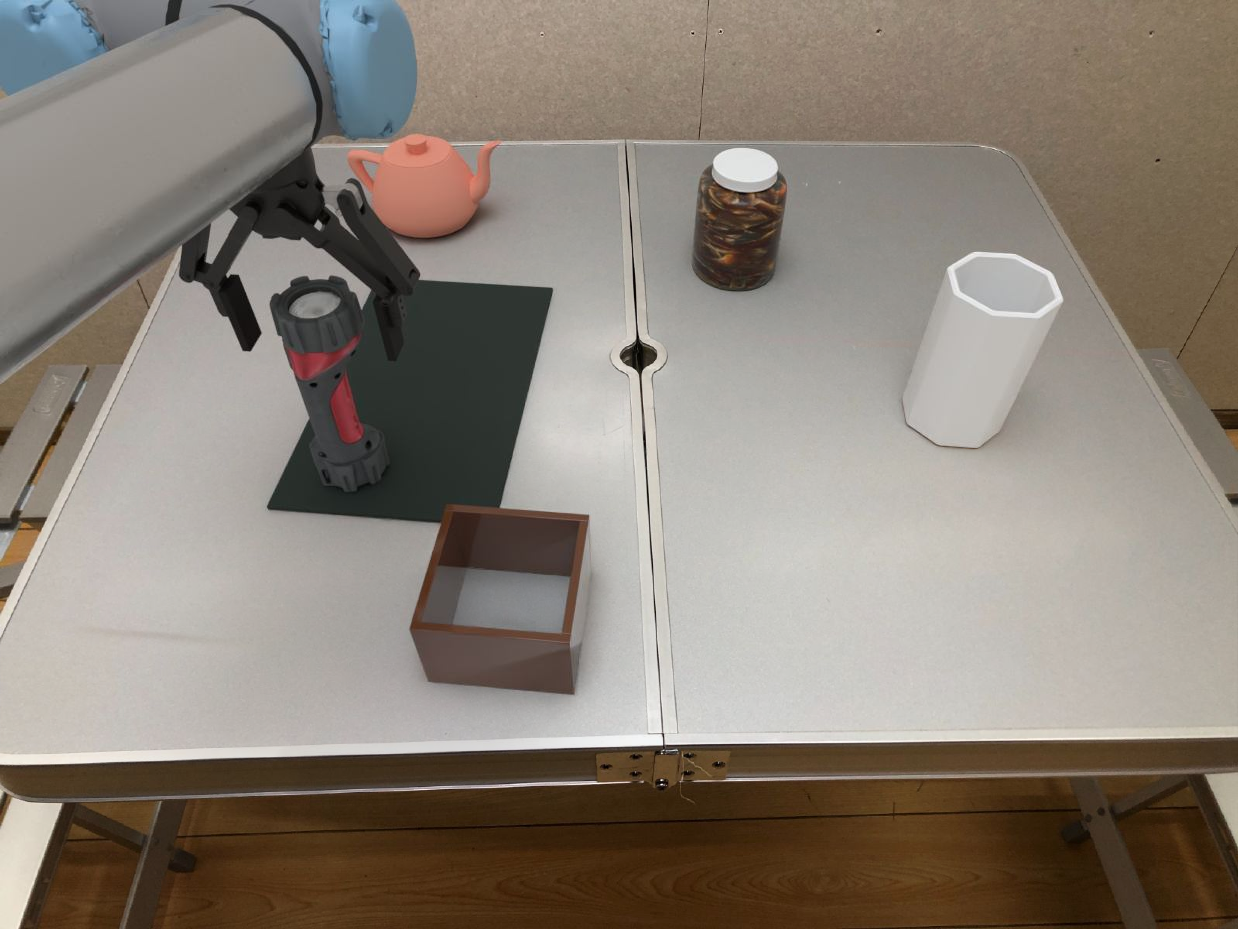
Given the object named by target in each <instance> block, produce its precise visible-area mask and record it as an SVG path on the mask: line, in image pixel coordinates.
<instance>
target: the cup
mask: <svg viewBox="0 0 1238 929" xmlns="http://www.w3.org/2000/svg"><path fill="white" fill-rule="evenodd" d="M1063 302H1064V297H1063V294H1062V292H1061V290H1060V287H1059V285H1058V282H1057V280H1056V277H1055V275H1054V274H1053V272H1051V271H1050V270H1048V269H1046V268H1044V267H1042V266H1040V265H1039V264H1036V263H1035V262H1032V261H1031V260H1028V259H1027V258H1024V257H1023V256H1020V255H1019V254H1015V253H1007V252H1005V253H1003V252H989V251H987V252H985V251H974V252H970V253H969V254H967V255H965V256H964V257H962V258H961V259H959V260H957V261H955V262H954V263H952V264H951V265H949V266H948V267H947V268H946V270H945V274H944V276H943V280H942V282H941V285H940V288H939V290H938V294H937V297H936V300H935V303H934V305H933V308H932V312H931V314H930V317H929V320H928V322H927V326H926V329H925V332H924V335H923V336H922V339H921V343H920V345H919V348H918V350H917V351H918V352H917V354H916V358H915V360H914V363H913V366H912V368H911V371H910V375H909V377H908V380H907V383H906V386H905V389H904V391H903V395H902V397H901V400H902V406H903V411H904V418H905V422H906V424H907V425H908V426H909V427H911V428H912V429H913V430H915V431H917V432H918V433H920V434H921V435H922V436H924V437H925V438H926V439H928V440H930V441H931V442H932V443H934V444H936V445H937V446H942V447H943V446H945V447H957V448H968V449H969V448H971V449H973V448H974V449H977V448H980V447H982V446H983V445H984V444H985V443H986V442H988V441H989V440H991V439H992V438H993V437H994V436H996V435H997V434H998V433H999V432H1001V430H1002V428H1003V426H1004V424H1005V421H1006V420H1007V418H1008V415H1009V413H1010V411H1011V409H1012V407H1013V405H1014V403H1015V401H1016V400H1017V397H1018V395H1019V394H1020V391H1021V389H1022V386H1023V384H1024V382H1025V380H1026V379H1027V376H1028V374H1029V372H1030V370H1031V368H1032V366H1033V364H1034V362H1035V360H1036V358H1037V355H1038V354H1039V352H1040V350H1041V347H1042V345H1043V343H1044V342H1045V340H1046V337H1047V335H1048V333H1049V331H1050V329H1051V327H1052V325H1053V323H1054V321H1055V319H1056V317H1057V315H1058V312H1059V310H1060V309H1061V307H1062V304H1063Z"/></svg>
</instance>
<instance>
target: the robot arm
mask: <svg viewBox="0 0 1238 929" xmlns="http://www.w3.org/2000/svg"><path fill="white" fill-rule="evenodd" d="M415 45H416V44H415V40H414V35H413V31H412V28H411V25H410V22H409V19H408V17H407V15H406V13H405V12H404V10H403V8H402V6H401V5H400V4H399V3H398V2H397V1H396V0H0V89H1V91H3V93H4V94H5V95H6V96H5V97H3V98H2V99H0V385H1V384H3V383H4V382H5V381H7V380H8V379H9V378H11V377H12V376H13V375H15V374H16V373H17V372H18V371H19V370H21V369H22V368H23V367H25V366H26V365H27V364H29V363H30V362H31V361H33V360H34V359H35V358H37V357H38V356H39V355H41V354H42V353H43V352H44V351H46V350H47V349H48V348H50V347H51V346H52V345H54V344H55V343H57V342H58V341H59V340H60V339H61V338H63V337H64V336H66V335H67V334H68V333H69V332H71V331H72V330H73V329H74V328H76V327H77V326H78V325H80V324H81V323H82V322H84V321H85V320H86V319H87V318H89V317H90V316H91V315H93V314H94V313H95V312H97V311H98V310H99V309H100V308H102V307H103V306H104V305H106V304H107V303H108V302H110V301H111V300H112V299H114V298H115V297H116V296H118V295H119V294H120V293H122V292H123V291H124V290H125V289H127V288H128V287H129V286H131V285H133V283H135V282H136V281H137V280H138V279H140V278H141V277H143V275H146V273H147V272H149V271H150V270H152V269H153V268H154V267H156V266H157V265H158V264H159V263H161V262H162V261H164V259H166V258H167V257H169V256H170V255H171V254H172V253H174V252H176V250H177V249H179V248H180V247H181V251H180V259H179V260H180V262H179V268H178V277H179V279H180V280H181V281H182V282H184V283H186V284H187V283H188V284H192V283H193V282H197V283H199V284H202V285H203V288H205V289H207V290H208V292H209V293H210V297H211V298H212V300H213V303H214V305H215V307H216V309H217V312H218V313H219V314H220V316H222V318H228V320H229V323H230V325H231V327H232V329H233V332H234V334H235V337H236V338H237V342H238V343H239V347H240V348H241V350H242V352H249V353H250V352H252V350H253V349H254V347H255V346H256V344H257V342H258V340H259V339H260V337H261V336H262V334H263V332H262V330H261V327H260V325H259V322H258V320H257V316H256V314H255V312H254V309H253V307H252V305H251V301H250V298H249V297H248V295H247V292H246V289H245V287H244V284H243V282H242V279H241V276H240V275H239V274H237V273H236V274H234V273H230V274H229V276H228V275H227V274H228V273H229V271H230V270H231V268H232V266H233V264H234V262H235V261H236V259H237V257H238V256H239V255H240V253H241V251H242V249H243V247H244V246H245V244H246V242H247V241H248V239H249V238H250V235H251V234H252V232H254V233H256V234H258V235H259V236H261V237H262V239H264V240H265V239H266V240H267V239H268V240H274V239H279V238H283V239H285V240H289V241H298V242H299V241H301V240H302V238H303V239H304V240H305V241H306V242H308V243H309V244H310V245H311V246H313V247H314V248H315V249H322V250H324V251H325V253H327V254H328V255H329V256H331V257H332V258H333V259H334V260H335V261H336V262H338V263H339V264H340V265H341V266H343V267H344V268H345V269H346V270H347V271H348V272H349V273H351V274H352V276H354V277H355V278H357V279H358V280H359V281H360V282H361V283H362V284H364V285H365V286H366V287H367V288H369V289H370V291H371V290H372V291H374V292H375V293H376V296H375V298H374V300H373V305H374V309H375V313H376V317H377V321H378V324H379V328H380V332H381V336H382V340H383V343H384V347H385V351H386V355H387V358H388V361H397V358H398V356H399V354H400V351H401V349H402V346H403V344H404V339H403V335H402V331H401V328H402V325H403V323H404V321H405V318H406V315H407V312H406V307H405V303H404V299H403V295H405V296H410V295H412V294H413V291H414V289H415V287H416V285H417V282H418V280H420V278H421V272H420V270H419V269H418V268H417V266H416V264H414V262H413V261H412V260H411V258H410V257H409V255H408V254H407V253H406V251H404V249H403V248H402V246H401V245H400V244H399V242H398V241H397V240H396V239H395V237H394V235H392V233H391V232H390V231H389V228H388V227H387V226H385V225H384V224H383V223H382V222H381V220H380V219H379V218H378V216H377V215H376V214H375V212H374V209H373V208H372V207H371V205H370V204H369V202H368V200H367V196H366V195H365V191H364V189H363V186H362V183H361V181H360V180H359V179H356V178H353V177H351V178H347V180H346V181H345V183H344V184H340V185H339V184H338V185H325V183H323V181H322V180H321V179H320V177H319V175H318V172H317V168H316V161H315V156H314V153H313V150H312V147H314V146H315V145H317V143H319V142H320V141H321V140H322V139H324V138H326V137H330V136H331V137H332V136H337V137H343V138H345V139H346V140H350V141H353V142H354V141H357V140H359V139H370V140H385V139H390V138H392V137H394V136H395V135H397V134H398V133H399V132H400V131H402V129H403V128H404V127H405V126H406V124H407V121H408V119H409V118H410V115H411V113H412V112H413V107H414V104H415V100H416V93H417V86H418V60H417V53H416V52H417V51H416V46H415ZM326 205H330V206H331V207H333V209H334V210H335V212H333V211H332V210H331V209H329V208H328V207H327V206H326ZM228 210H229V211H230V212H231V213H232V214H234V215H235V217H237V218H236V220H235V222H234V223H233V225H232V227H231V229H230V230H229V232H228V233H227V237H226V238H225V240H224V242H223V244H222V245H221V247H220V249H219V250H218V252H217V254H216V256H215V258H214V260H212V261H213V262H212V263H210V262H207V256H208V248H209V243H210V234H211V229H212V228H211V227H212V223H213V222H215V221H216V220H217V219H218V218H220V217H221V216H222V215H223V214H225V213H226V212H227V211H228ZM339 217H342V218H343V221H344V222H345V224H346V225H347V227H348V228H349V230H350V231H351V232H352V233H351V232H350V231H349V230H348V229H346V228H345V227H344V226H343V225H342V224H341V221H340V218H339ZM317 222H319V223H320V224H321V227H320V229H318V228H317V227H316V226H315V225H316V224H317Z"/></svg>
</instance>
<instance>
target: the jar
mask: <svg viewBox="0 0 1238 929" xmlns="http://www.w3.org/2000/svg"><path fill="white" fill-rule="evenodd" d="M787 195H788V184H787V181H786V178H785V176H784V175H783V173H782V172H780V170H779V165H778V162H777V161H776V159H775V158H774V157H773V156H771V155H770V154H769V153H766V152H765V151H762V150H759V149H756V148H751V147H750V148H749V147H735V148H729V149H726V150H723V151H720V152H719V153H718V154H717V155H715V157H714V158H713V162H712V164H710V165H708V166H707V167H706V168H705V169H704V170H703V171H702V173H701V175H700V178H699V182H698V187H697V197H696V206H695V218H694V230H693V241H692V242H693V244H692V256H691V257H692V258H691V259H692V260H691V263H692V268H693V271H694V272H695V274H696V275H697V276H698V278H699V279H701V281H703V282H704V283H706V284H708V285H710V286H712V287H715V288H718V289H721V290H724V291H725V290H726V291H735V292H742V291H749V290H754V289H757V288H760V287H762V286H764V285H766V284H767V283H768V282H769V281H770V280H771V279H772V278H773V276H774V274H775V271H776V266H777V260H778V255H779V248H780V242H781V237H782V230H783V225H784V224H783V223H784V217H785V211H786V204H787Z"/></svg>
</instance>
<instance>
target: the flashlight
mask: <svg viewBox="0 0 1238 929" xmlns="http://www.w3.org/2000/svg"><path fill="white" fill-rule="evenodd" d="M268 305H269V310H270V314H271V317H272V320H273V324H274V326H275V331H276V335H277V336H278V337H281V341H282V346H283V350H284V353H285V355H286V358H287V362H288V365H289V367H290V369H291V370H292V372H293V375H294V379H295V381H296V385H297V388H298V390H299V393H300V396H301V398H302V401H303V405H304V408H305V410H306V412H307V416H308V419H309V418H310V421H311V424H312V427H313V430H314V432H315V437H314V439H313V440H312V441H311V443H310V445H309V446H310V450H311V455H312V458H313V460H314V462H315V465H316V467H317V469H318V472H319V474H320V477H321V480H322V483H323V485H324V486H339V487H341V488H343V490H344V491H345V492H356V491H357V487H358V486H361V485H363V484H366V483H370V484H372V485H374V484H376V483H377V482H378V481H380V480H381V474H382V473H383V472H384V470H385V468H386V466H389V464H390V462H389V458H388V454H387V449H386V445H385V439H384V435H383V433H382V432H381V431H380V430H376V429H375V428H374V427H372V426H370V425H367V424H361V423H359V420H358V416H357V413H356V409H355V404H354V402H353V396H352V394H351V388H350V386H349V384H348V379H347V376H346V367H347V364H348V362H349V361H350V359H351V358H352V357H353V356H354V354H355V353H356V351H357V350H358V348H359V346H360V343H361V340H362V335H363V333H362V331H363V328H364V317H363V313H362V308H361V304H360V301H359V298H358V295H357V293H356V292H355V291H351V289H350V287H349V284H348V282H347V280H346V279H345V278H343V277H341V276H338V275H331V274H330V275H329V276H328V278H327V279H324V278H316V279H315V278H314V279H310V277H309V276H308V275H301V276H298V277H295V278H293V279H291V280H290V282H289V287H287V288H286V289H285V290H283V291H281V293H279V292H277V293H276V292H275V293H273V294H272V295H271V297H270V300H269V304H268Z"/></svg>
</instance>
